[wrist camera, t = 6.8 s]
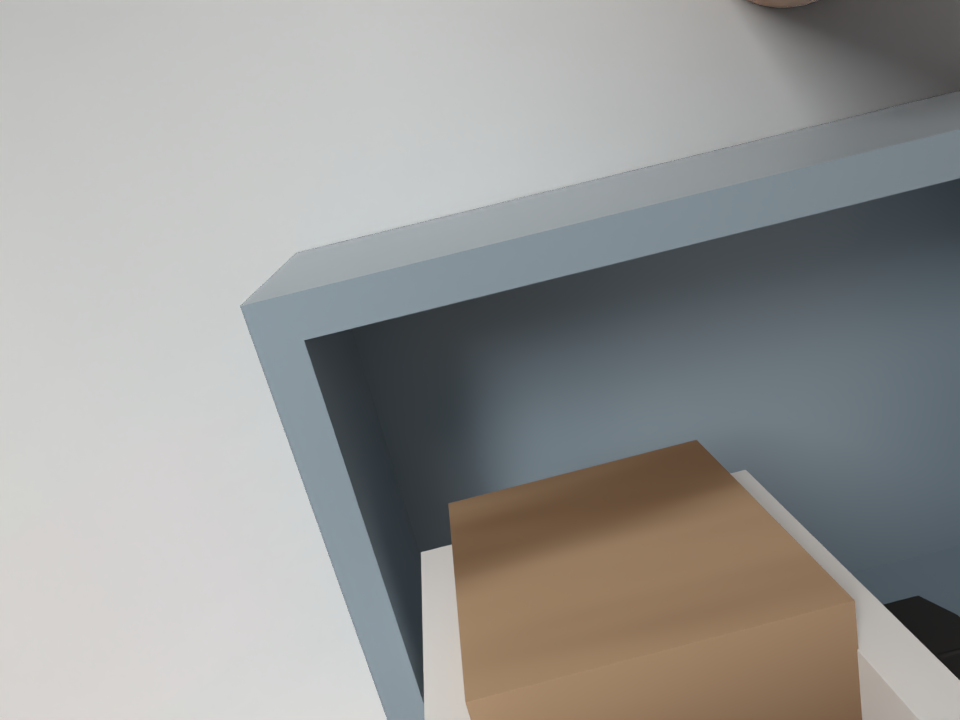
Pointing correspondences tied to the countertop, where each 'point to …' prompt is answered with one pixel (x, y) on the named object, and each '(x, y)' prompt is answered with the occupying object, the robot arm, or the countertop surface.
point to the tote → (640, 356)
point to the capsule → (782, 3)
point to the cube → (646, 601)
